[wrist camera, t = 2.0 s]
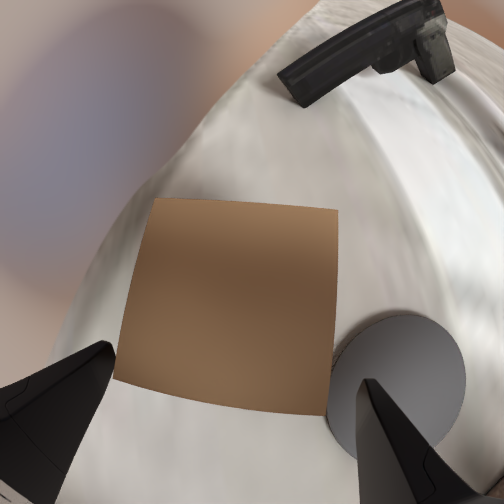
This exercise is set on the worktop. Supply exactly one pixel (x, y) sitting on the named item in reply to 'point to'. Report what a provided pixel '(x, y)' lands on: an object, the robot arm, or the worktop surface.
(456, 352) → the mat
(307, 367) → the stool
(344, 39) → the handgun
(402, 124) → the worktop surface
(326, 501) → the worktop surface
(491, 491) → the sculpture
